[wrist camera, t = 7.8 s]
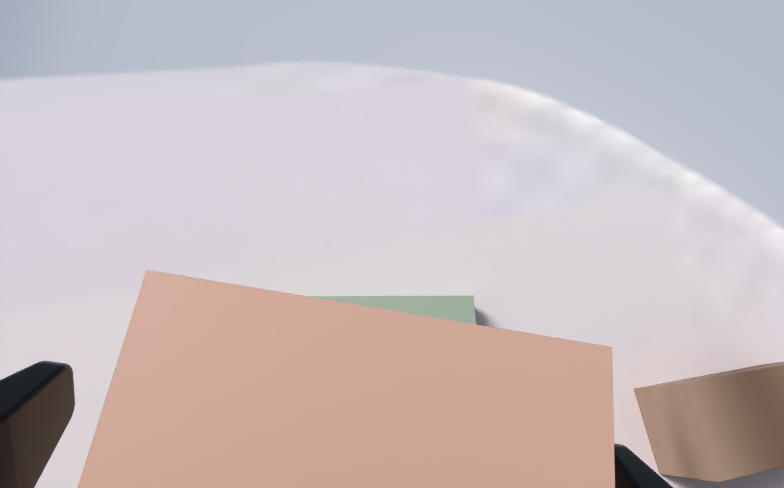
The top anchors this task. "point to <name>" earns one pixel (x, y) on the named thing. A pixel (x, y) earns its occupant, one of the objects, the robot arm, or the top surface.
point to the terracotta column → (343, 398)
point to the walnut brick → (717, 423)
